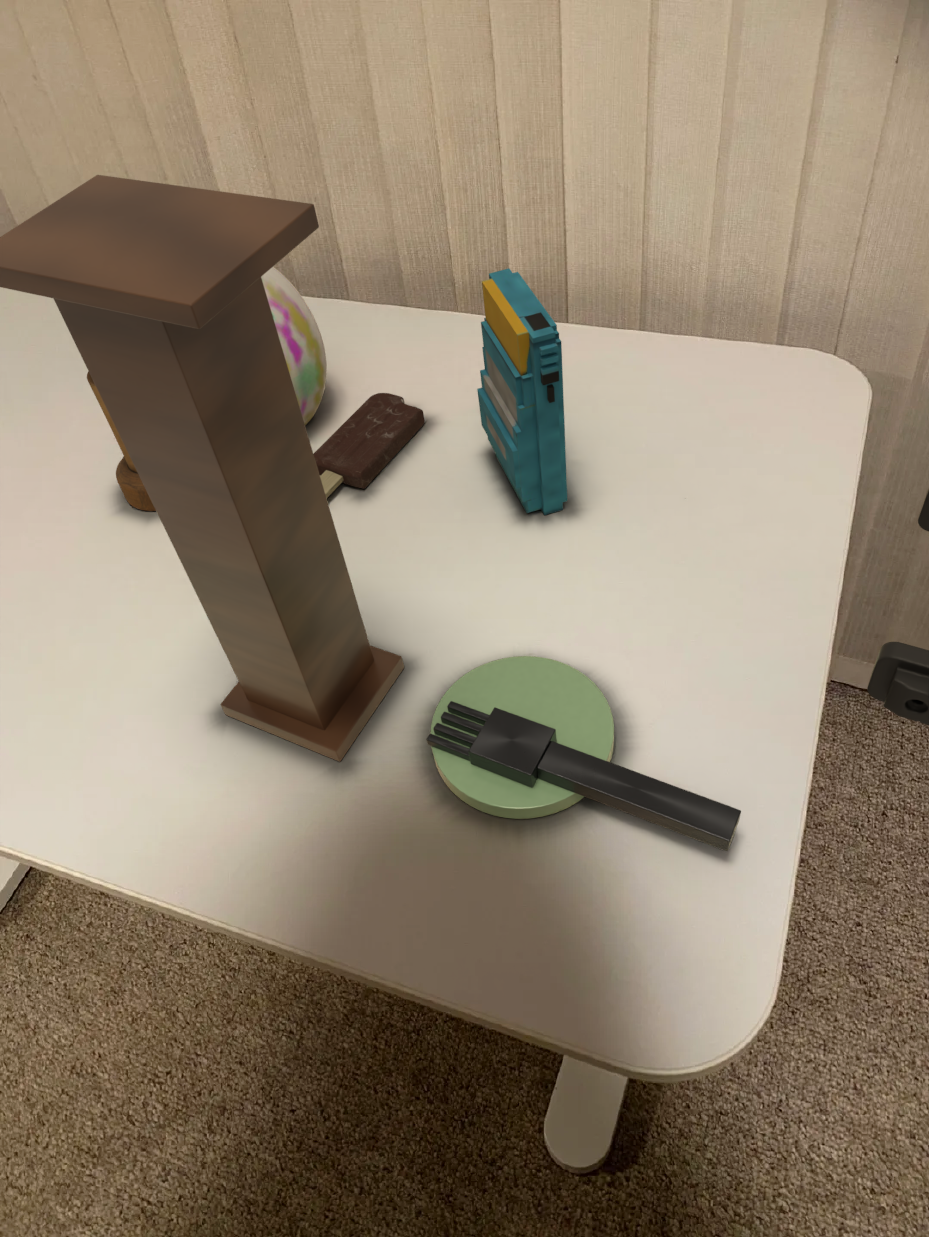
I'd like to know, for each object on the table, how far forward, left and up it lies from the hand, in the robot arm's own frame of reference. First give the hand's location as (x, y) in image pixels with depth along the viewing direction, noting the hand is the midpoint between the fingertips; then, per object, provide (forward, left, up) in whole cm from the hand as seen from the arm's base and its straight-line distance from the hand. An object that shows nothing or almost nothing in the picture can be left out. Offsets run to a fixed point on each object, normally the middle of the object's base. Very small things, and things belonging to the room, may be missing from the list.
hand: (900, 578), depth 32 cm
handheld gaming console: (+24, +27, -23) cm, 43 cm away
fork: (0, +13, -21) cm, 25 cm away
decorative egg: (+24, +52, -23) cm, 62 cm away
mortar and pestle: (+13, +55, -23) cm, 61 cm away
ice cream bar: (+21, +41, -23) cm, 51 cm away
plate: (+2, +17, -23) cm, 28 cm away
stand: (0, +31, -23) cm, 38 cm away
